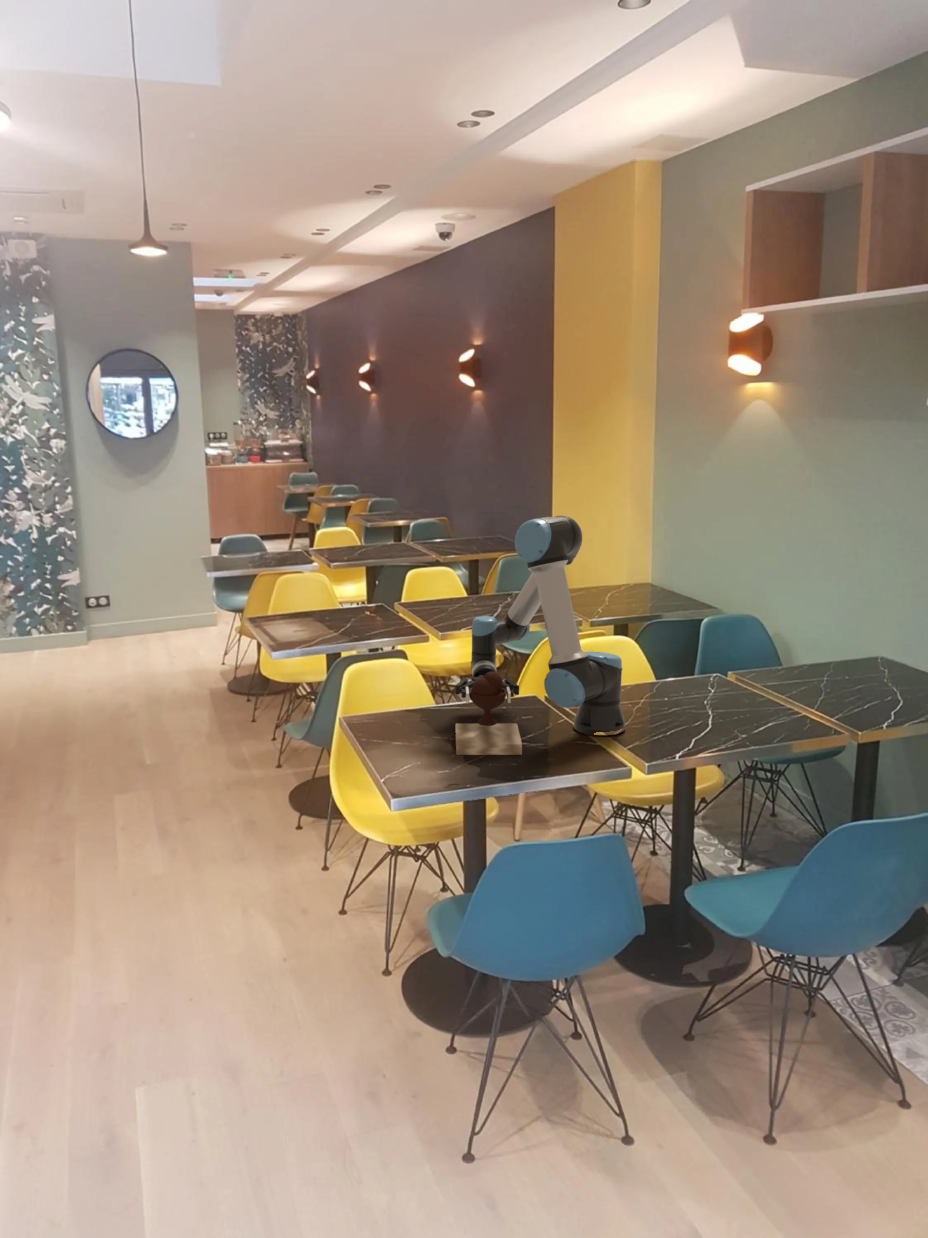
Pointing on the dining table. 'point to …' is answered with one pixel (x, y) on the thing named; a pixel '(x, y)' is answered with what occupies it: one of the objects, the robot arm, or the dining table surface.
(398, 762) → the dining table surface
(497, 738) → the maple stand board
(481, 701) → the ice cream bowl
